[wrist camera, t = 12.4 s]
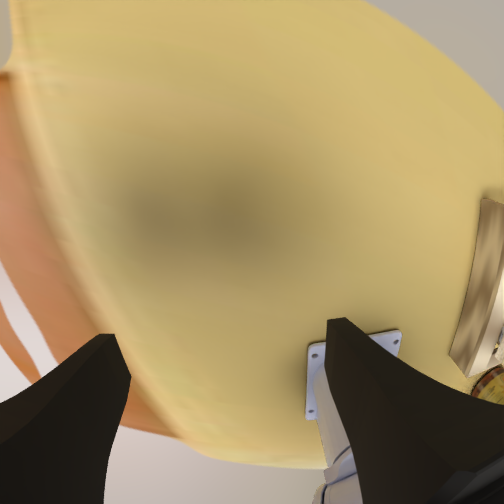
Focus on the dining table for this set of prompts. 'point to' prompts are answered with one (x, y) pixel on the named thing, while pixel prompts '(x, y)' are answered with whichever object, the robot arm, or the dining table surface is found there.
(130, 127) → the dining table surface
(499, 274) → the beige wooden frame
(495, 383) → the sauce bottle
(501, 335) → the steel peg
